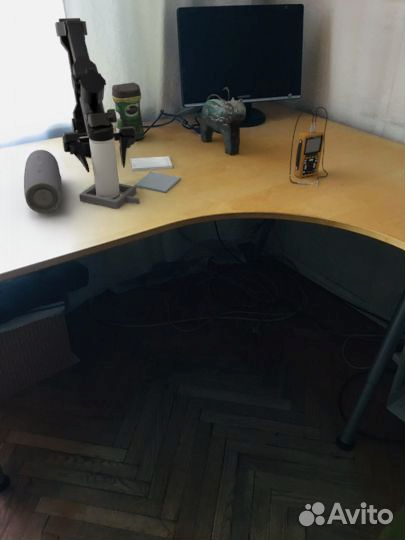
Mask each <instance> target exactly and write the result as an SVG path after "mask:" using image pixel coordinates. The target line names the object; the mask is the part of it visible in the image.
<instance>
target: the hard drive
mask: <svg viewBox="0 0 405 540" xmlns="http://www.w3.org/2000/svg"><path fill="white" fill-rule="evenodd" d="M129 162H130V167H131V171H132V172H142V171H155V170H156V171H157V170H168V169H169V170H171V169H173V168H174V167H173V163H172V160H171V159H170V156H154V157H153V156H152V157H151V156H150V157H138V158H137V157H136V158H135V157H134V158H129Z"/></svg>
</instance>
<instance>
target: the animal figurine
mask: <svg viewBox="0 0 405 540" xmlns="http://www.w3.org/2000/svg"><path fill="white" fill-rule="evenodd" d="M225 90H226V91H227V93H228V94H230V90H229V88H228V87H224V88H223V89H222V91H223V92H224V91H225ZM212 97H217V98H218V99H217V98H213V99H210V98H212ZM201 110H202V111H201V116H200V120H199V121H200V123H199V129H200V131H199V132H200V139H201V142H203V143H210V142H212V139H213V136H214V135H213V134H214V131H215V132H219V133H220V134H221V135H222V138H223V141H224V147H225V148H224V153H225V154H227V155H229V156H235V155H238V154H240V146H241V145H240V144H241V137H240V136H241V128H240V122H241V121H243V120H245V119H246V115H247V114H246V112H247V109H246V106H245V104H244V103H243V98H239V100H235V98H234V97H232V98H231V100H230V96H228V98H227V101H226V100H225V99H222V98H221V97H220V96H219V95H218V94H214V93H213V94H210V95H209V96H208V97H207V98H206V102H205V103H204V104H203V106H202V109H201Z"/></svg>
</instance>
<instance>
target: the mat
mask: <svg viewBox="0 0 405 540" xmlns="http://www.w3.org/2000/svg"><path fill="white" fill-rule="evenodd" d="M181 179H182V178H181V177H180V176H174V175H169V174H165V173H160V172H153V171H150V172H148V173H147V174H146V175H145V176H143V177H142V178H141V179H139V180H138V181H137V182H136V183H134V184H133V186H135V187H136V188H139V189H143V190H148V191H149V190H150V191H153V192H158V193H159V192H160V193H165V194H167V192H169V191H170V190H171V189H172V188H173V187H174V186H175V185H176V184H178V183H179V182H180V180H181Z"/></svg>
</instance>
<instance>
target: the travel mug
mask: <svg viewBox="0 0 405 540" xmlns="http://www.w3.org/2000/svg"><path fill="white" fill-rule="evenodd" d="M88 132H89V140H90V149H91V157H90V158H91V163H92V169H93V170H92V171H93V179H94V184H95V188H96V194H95V196H100V197H105V198H109V199H114V200H115V199H116V198H118V197H119V196H120V195H121V192H120V190H119V183H120V182H119V172H118V171H119V170H118V162H117V161H118V160H117V150H116V141H115V139H114V134H113V133H115V131H114V123H110V126H97V127H92V128H91V127H90V125H89V127H88Z"/></svg>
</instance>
